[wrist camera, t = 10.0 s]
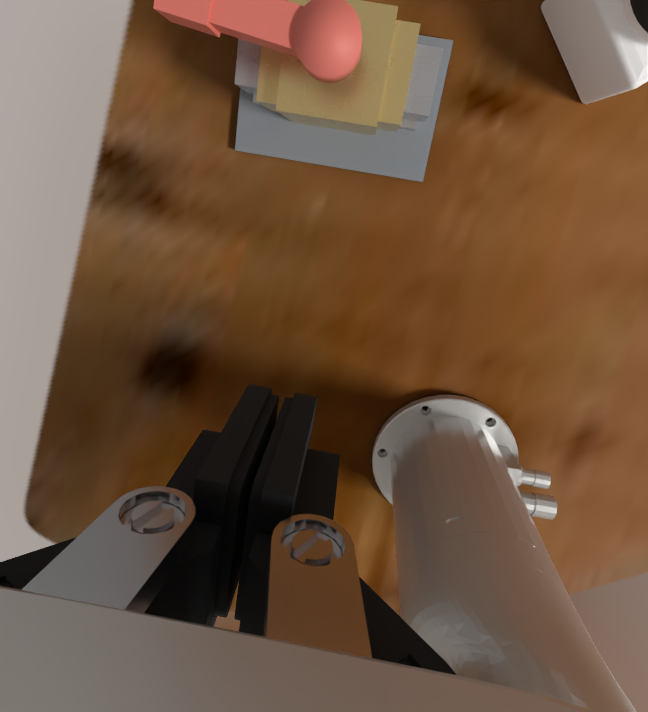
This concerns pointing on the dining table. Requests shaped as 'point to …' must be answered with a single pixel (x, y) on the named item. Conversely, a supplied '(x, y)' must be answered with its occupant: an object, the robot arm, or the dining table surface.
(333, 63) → the lever
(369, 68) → the valve
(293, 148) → the mat
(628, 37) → the medicine bottle
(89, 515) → the dining table surface
